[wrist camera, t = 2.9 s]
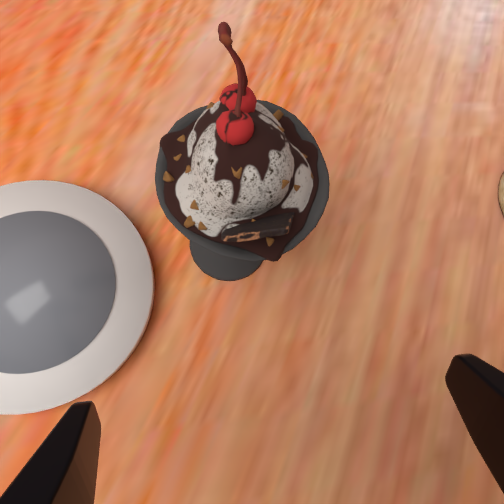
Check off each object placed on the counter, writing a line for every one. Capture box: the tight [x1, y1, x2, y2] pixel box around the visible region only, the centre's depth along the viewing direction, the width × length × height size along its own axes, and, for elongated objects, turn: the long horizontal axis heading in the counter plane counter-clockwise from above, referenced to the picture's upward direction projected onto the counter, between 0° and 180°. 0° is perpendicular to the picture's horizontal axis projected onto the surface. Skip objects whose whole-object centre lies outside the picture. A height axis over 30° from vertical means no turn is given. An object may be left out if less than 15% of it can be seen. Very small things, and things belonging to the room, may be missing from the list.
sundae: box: [155, 22, 329, 281], centre depth 16 cm, size 7×7×15 cm
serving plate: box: [0, 180, 155, 414], centre depth 21 cm, size 13×13×1 cm
